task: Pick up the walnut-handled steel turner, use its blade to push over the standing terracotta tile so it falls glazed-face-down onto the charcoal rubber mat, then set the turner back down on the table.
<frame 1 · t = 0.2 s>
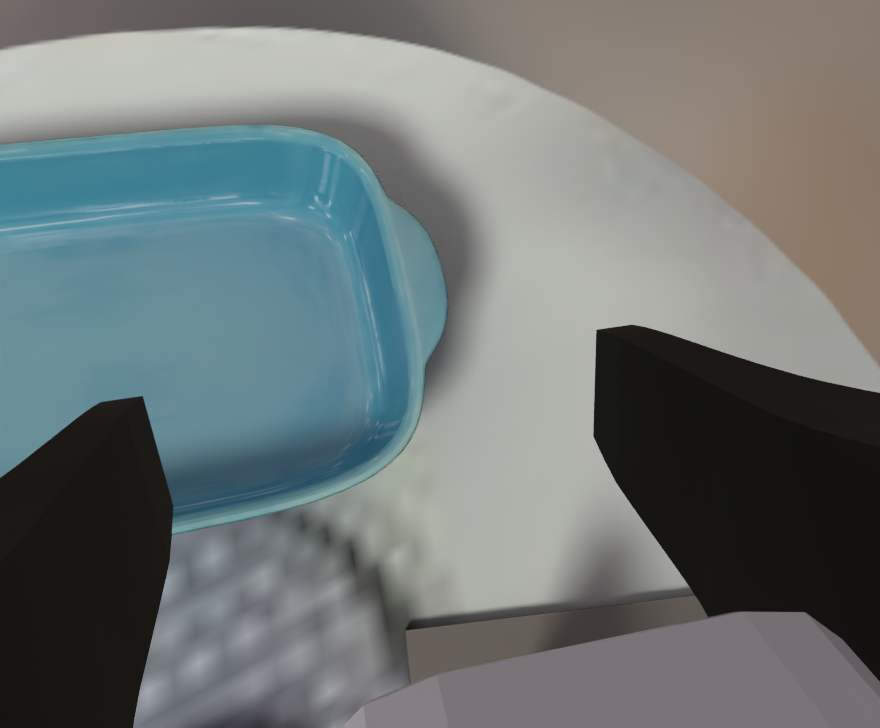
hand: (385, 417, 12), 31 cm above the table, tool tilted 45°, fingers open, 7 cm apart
casserole dish: (119, 371, 43), on the table
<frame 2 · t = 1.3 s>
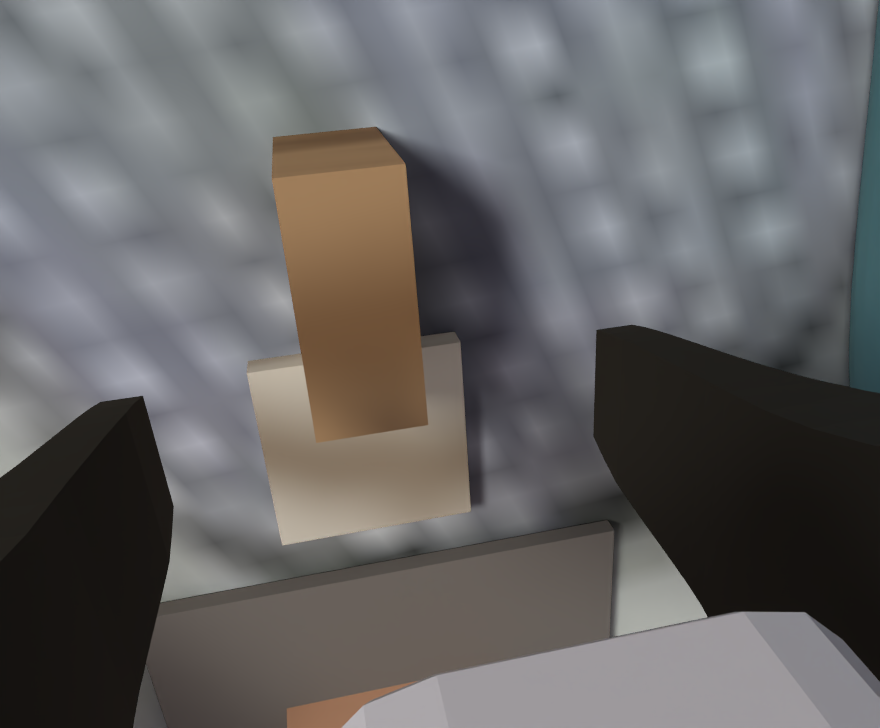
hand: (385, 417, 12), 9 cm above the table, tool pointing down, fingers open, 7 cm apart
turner: (340, 245, 20), on the table
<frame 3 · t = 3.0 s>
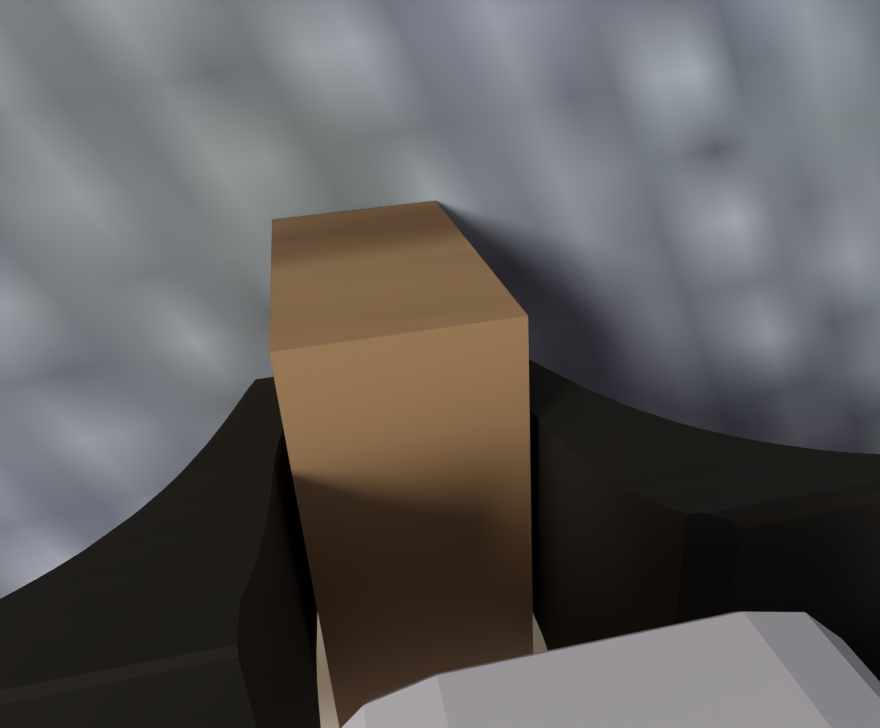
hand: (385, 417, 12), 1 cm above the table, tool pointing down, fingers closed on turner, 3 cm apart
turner: (375, 377, 13), on the table, touching gripper
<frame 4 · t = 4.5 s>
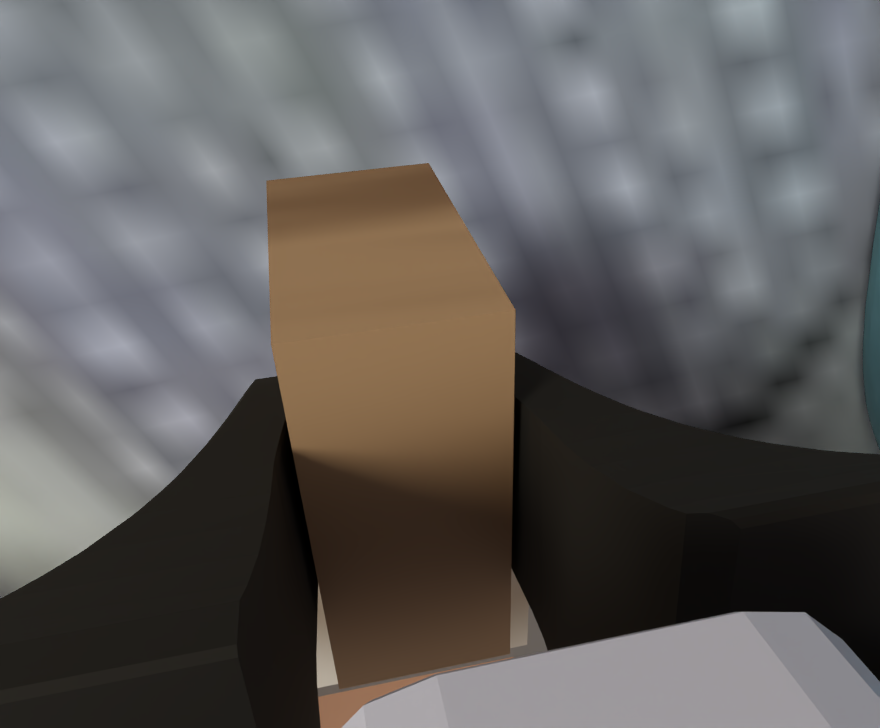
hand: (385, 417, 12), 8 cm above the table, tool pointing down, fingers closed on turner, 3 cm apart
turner: (366, 332, 14), point 6 cm above the table, tilted 7°, touching gripper
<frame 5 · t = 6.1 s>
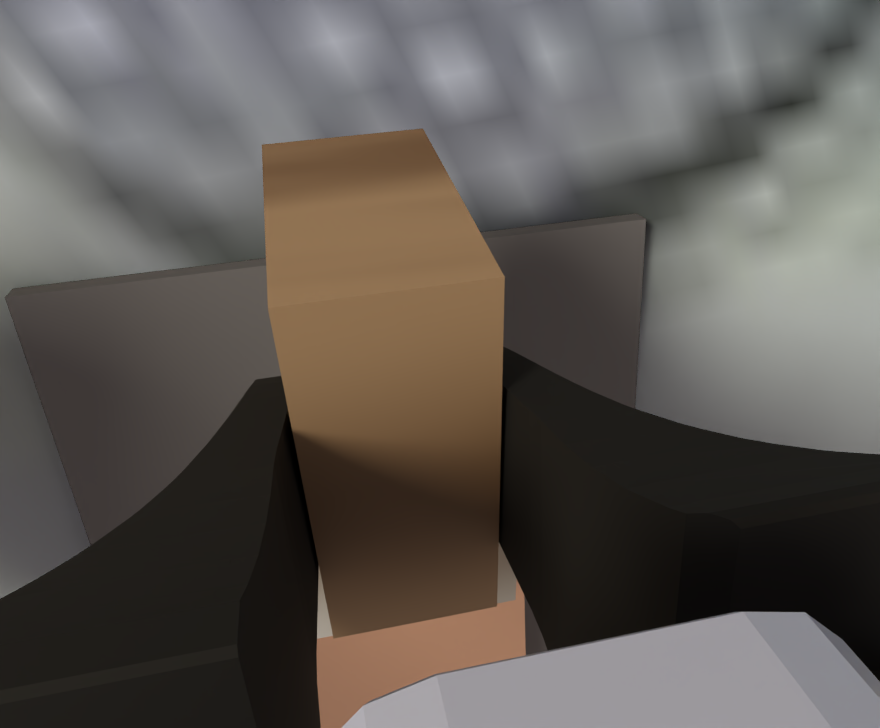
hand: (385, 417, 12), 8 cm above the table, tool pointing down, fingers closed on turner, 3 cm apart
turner: (361, 295, 14), point 6 cm above the table, tilted 10°, touching gripper
mat: (378, 527, 23), on the table
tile: (394, 633, 23), point 1 cm above the table, tilted 90°, touching mat
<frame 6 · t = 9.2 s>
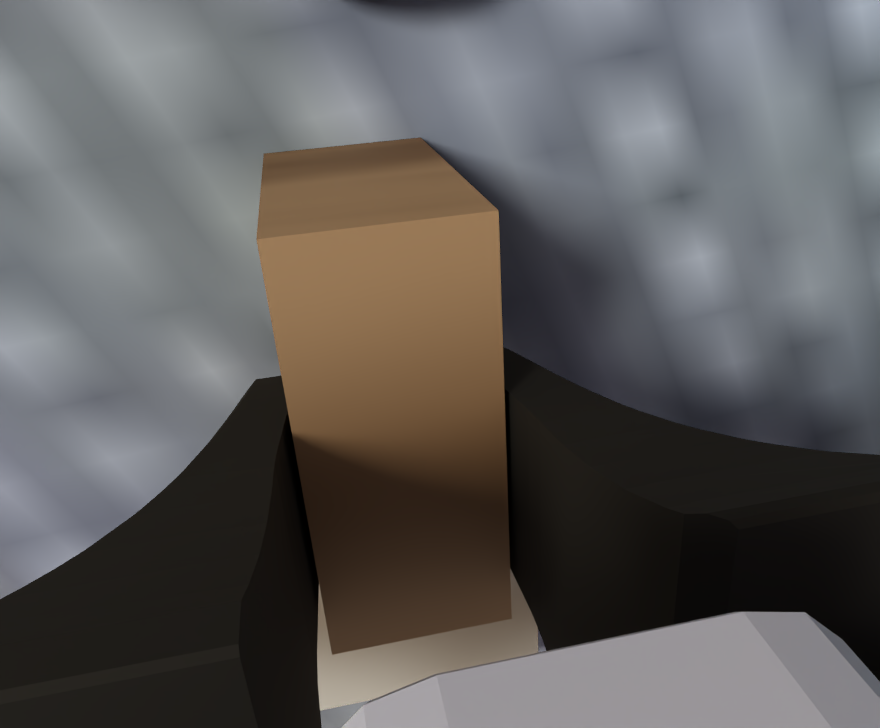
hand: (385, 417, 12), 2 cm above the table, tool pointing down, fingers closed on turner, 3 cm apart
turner: (363, 312, 14), on the table, touching gripper
when the fingers open (2 cm above the table, at t = 9.2 s): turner stays where it is, on the table.
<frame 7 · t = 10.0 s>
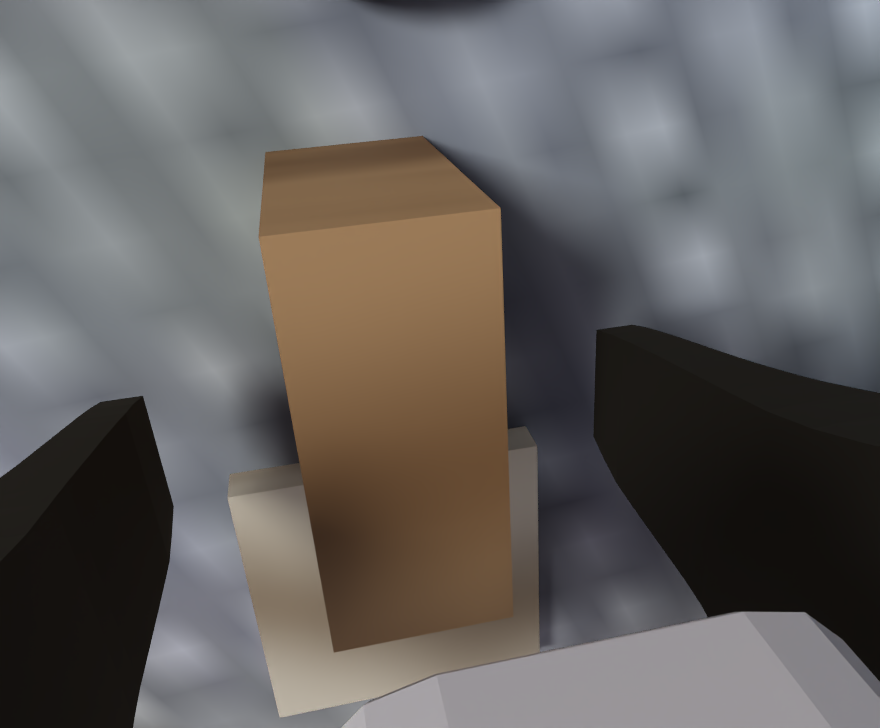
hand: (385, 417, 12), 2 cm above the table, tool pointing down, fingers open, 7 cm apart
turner: (365, 311, 14), on the table
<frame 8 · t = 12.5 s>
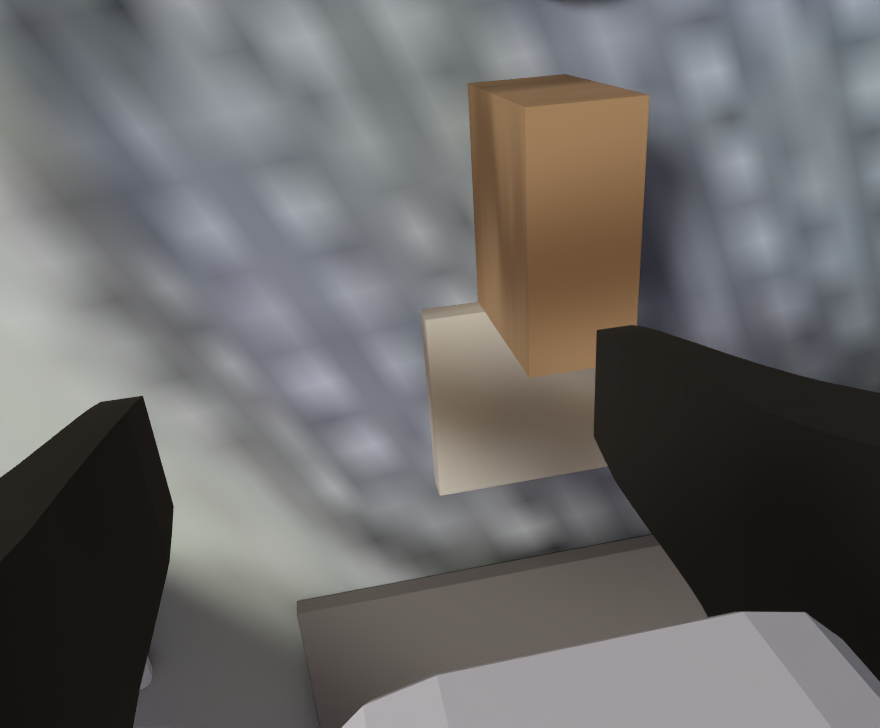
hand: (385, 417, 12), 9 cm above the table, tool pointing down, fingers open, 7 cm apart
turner: (519, 194, 21), on the table
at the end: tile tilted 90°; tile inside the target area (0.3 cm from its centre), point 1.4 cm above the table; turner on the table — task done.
